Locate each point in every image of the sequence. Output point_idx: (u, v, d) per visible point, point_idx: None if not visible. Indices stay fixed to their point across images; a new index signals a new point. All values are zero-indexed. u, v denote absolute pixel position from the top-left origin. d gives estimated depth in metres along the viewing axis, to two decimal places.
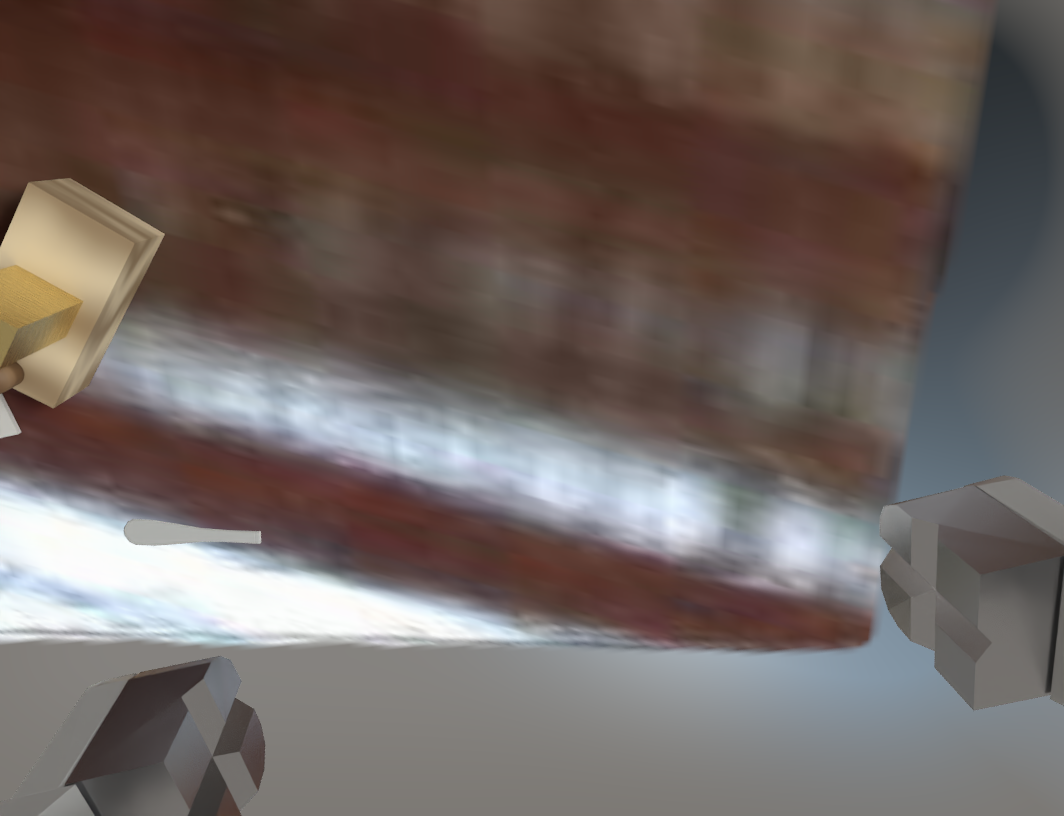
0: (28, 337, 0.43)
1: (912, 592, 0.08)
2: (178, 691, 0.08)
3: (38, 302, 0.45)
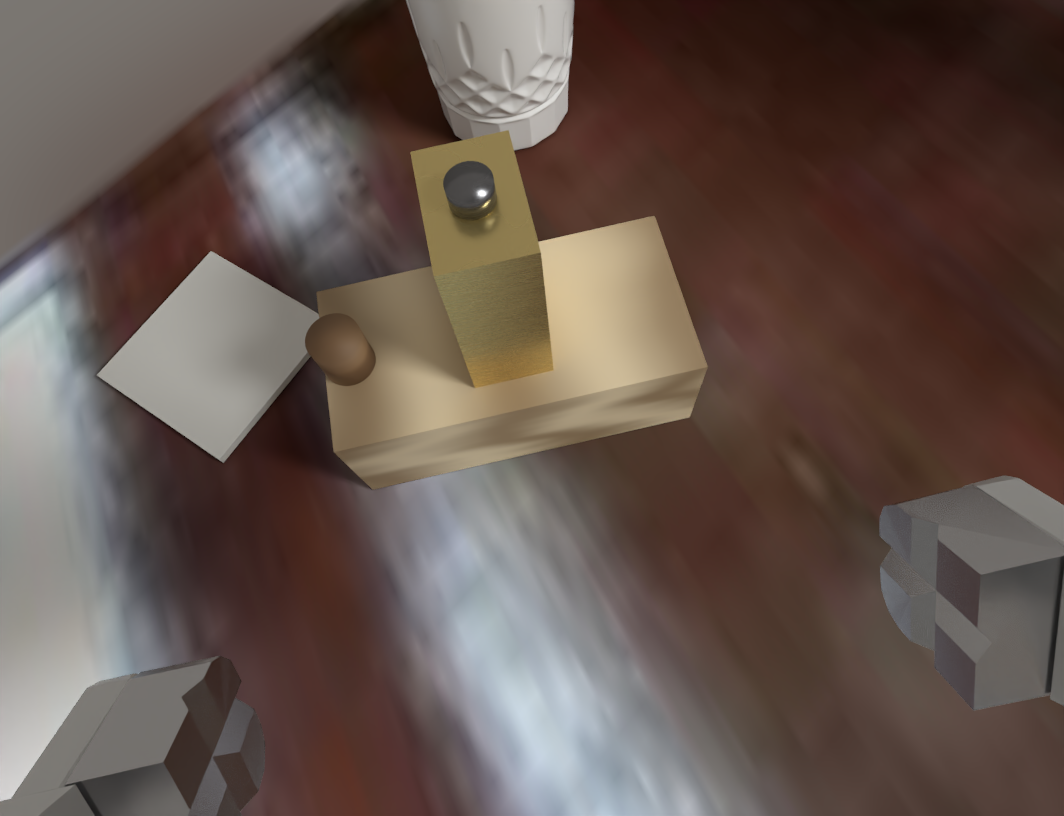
0: (503, 299, 0.21)
1: (912, 592, 0.08)
2: (178, 691, 0.08)
3: None
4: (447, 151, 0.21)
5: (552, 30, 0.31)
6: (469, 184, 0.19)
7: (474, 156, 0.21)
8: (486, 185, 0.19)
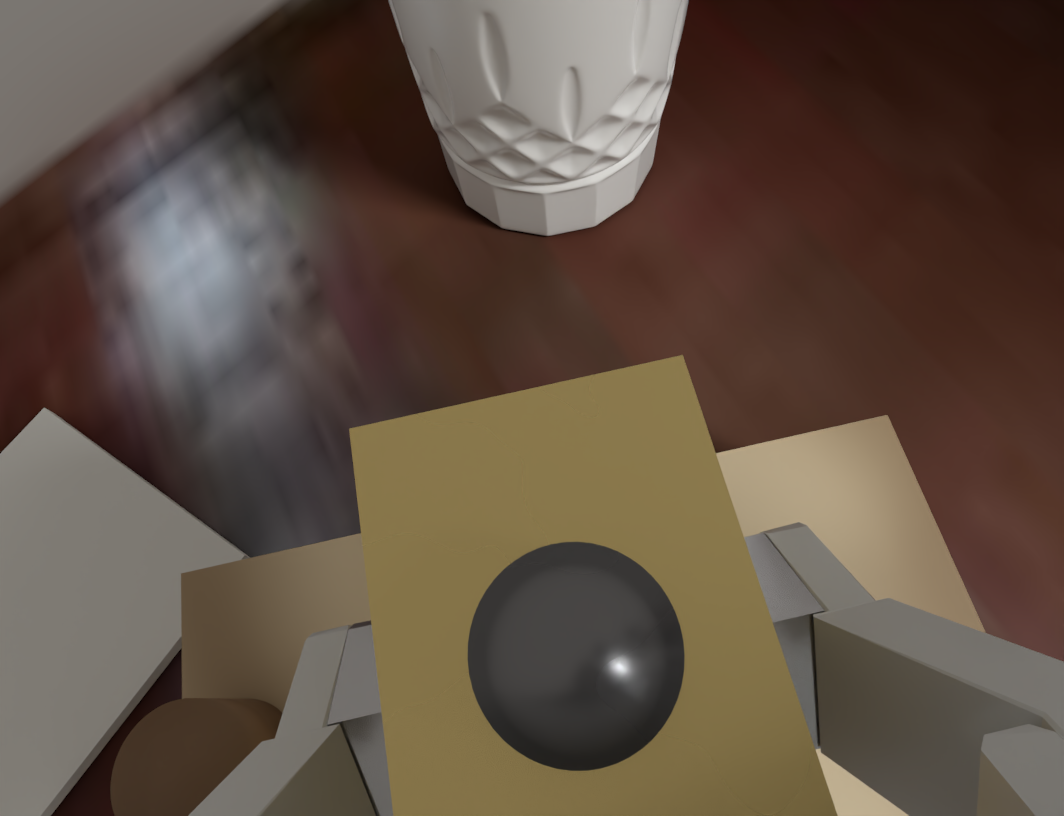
0: None
1: None
2: None
3: None
4: (476, 433, 0.06)
5: (658, 31, 0.16)
6: (581, 669, 0.04)
7: (571, 456, 0.06)
8: (657, 683, 0.04)
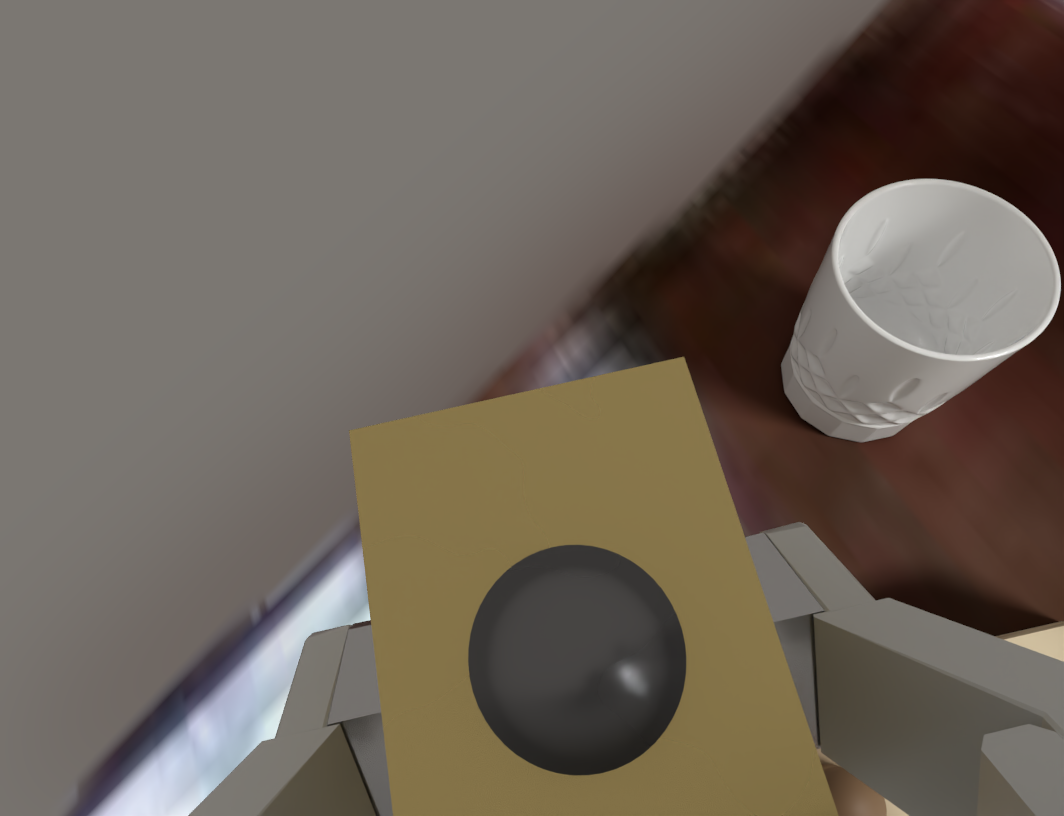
0: None
1: None
2: None
3: None
4: (477, 434, 0.06)
5: None
6: (582, 673, 0.04)
7: (572, 458, 0.06)
8: (658, 687, 0.04)
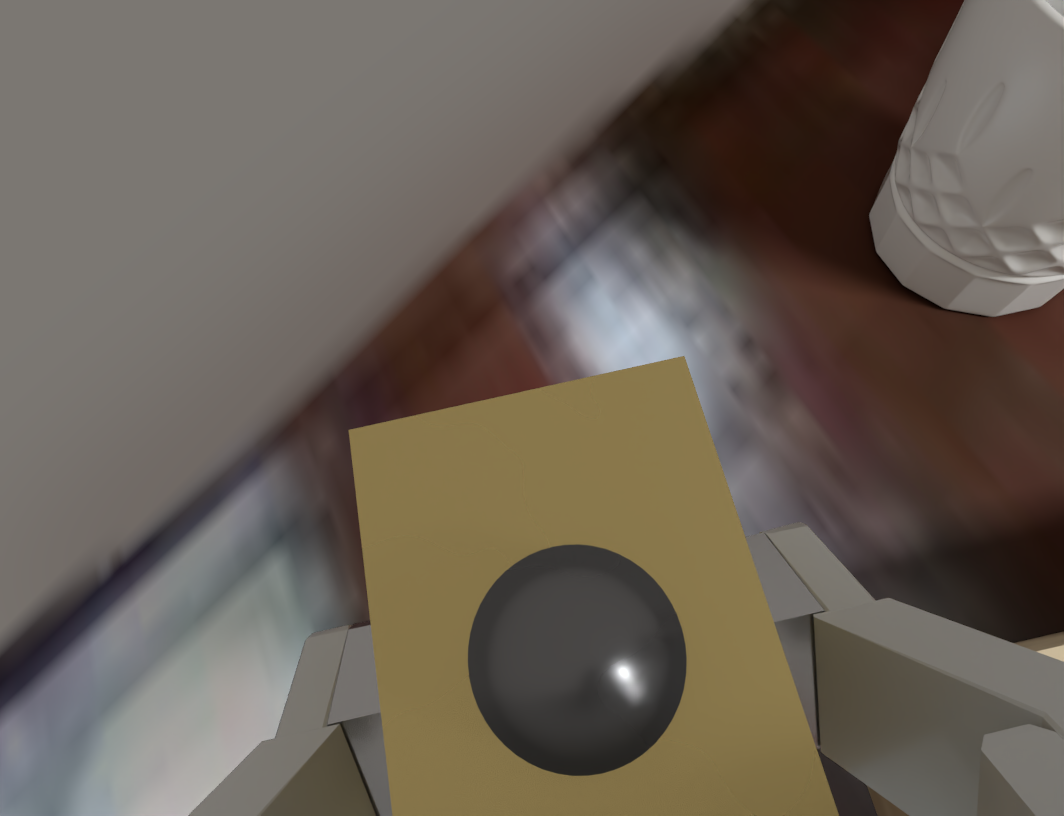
0: None
1: None
2: None
3: None
4: (477, 434, 0.06)
5: None
6: (582, 673, 0.04)
7: (572, 457, 0.06)
8: (659, 687, 0.04)
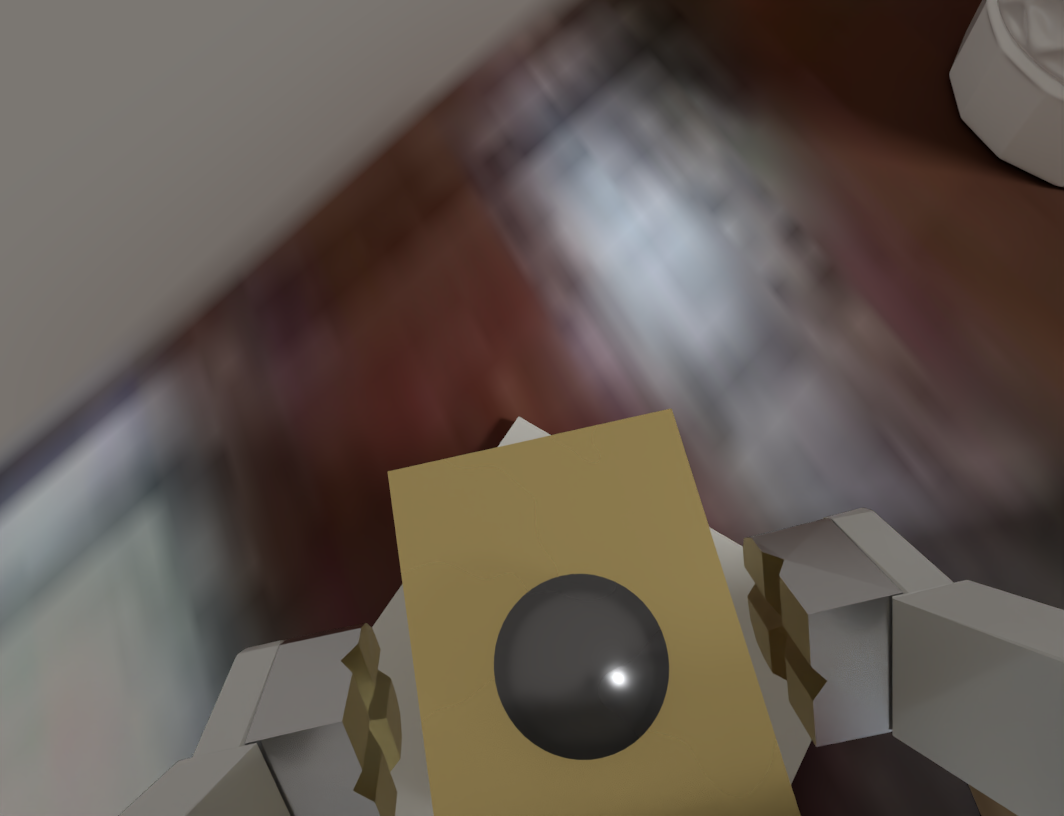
0: None
1: (770, 624, 0.08)
2: (335, 655, 0.08)
3: None
4: (496, 476, 0.07)
5: None
6: (585, 678, 0.06)
7: (576, 496, 0.07)
8: (646, 690, 0.05)
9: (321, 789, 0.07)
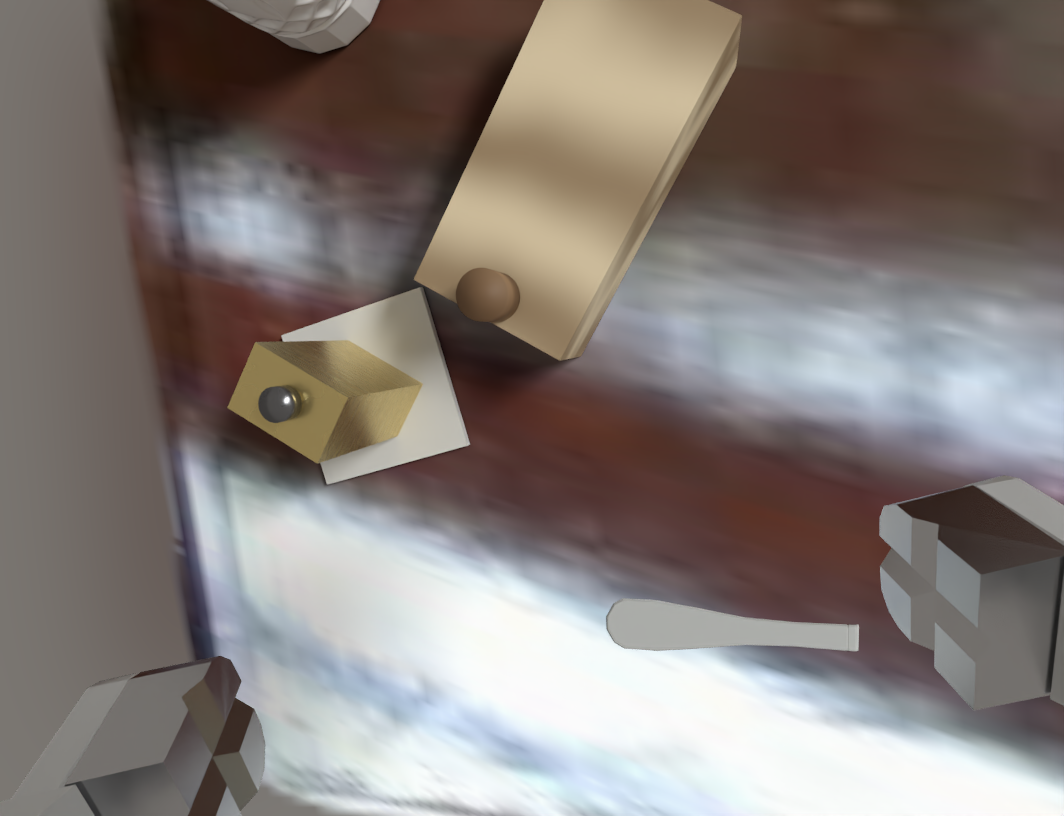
0: (358, 420, 0.29)
1: (912, 591, 0.08)
2: (178, 691, 0.08)
3: (373, 376, 0.31)
4: (243, 388, 0.28)
5: None
6: (276, 406, 0.27)
7: (258, 376, 0.28)
8: (284, 398, 0.27)
9: None
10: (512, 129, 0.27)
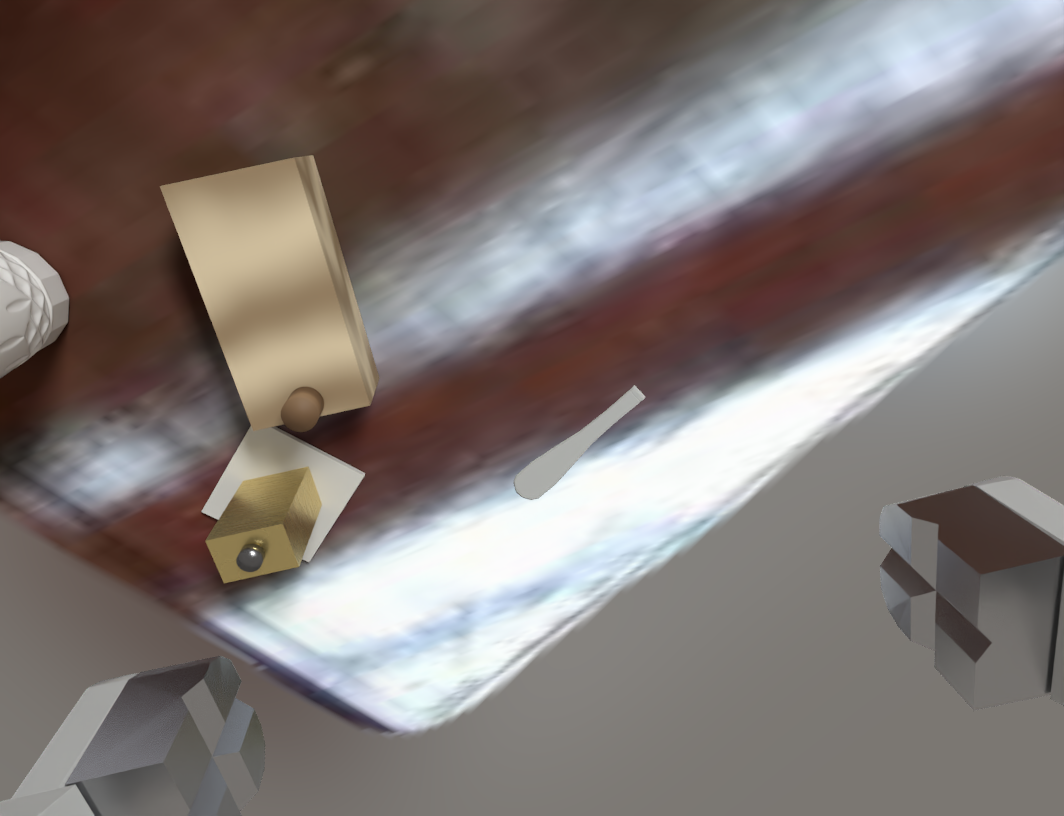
0: (296, 525, 0.42)
1: (912, 592, 0.08)
2: (178, 691, 0.08)
3: (280, 493, 0.44)
4: (222, 567, 0.41)
5: None
6: (251, 561, 0.40)
7: (224, 554, 0.41)
8: (251, 554, 0.40)
9: None
10: (228, 312, 0.38)
